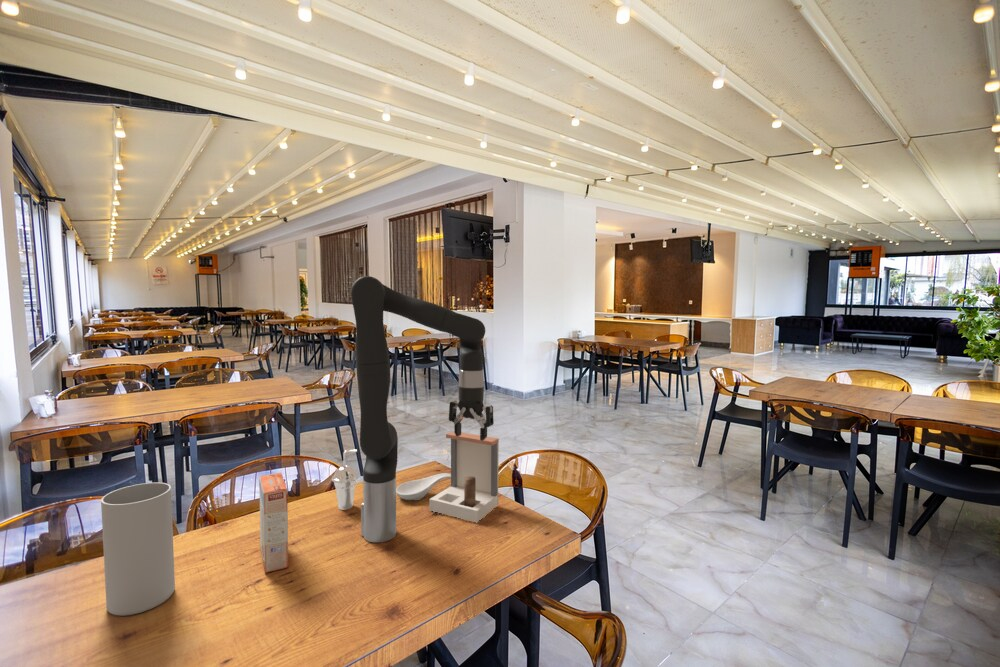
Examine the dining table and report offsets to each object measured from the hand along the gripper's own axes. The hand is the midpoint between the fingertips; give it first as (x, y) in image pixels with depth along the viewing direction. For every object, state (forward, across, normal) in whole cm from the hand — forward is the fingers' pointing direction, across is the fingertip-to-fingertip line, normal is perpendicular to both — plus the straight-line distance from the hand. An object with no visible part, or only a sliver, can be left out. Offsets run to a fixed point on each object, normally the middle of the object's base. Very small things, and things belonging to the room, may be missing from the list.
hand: (470, 437), depth 144 cm
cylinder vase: (+28, -48, -66) cm, 86 cm away
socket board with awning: (+28, -8, +10) cm, 30 cm away
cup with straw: (+28, -43, -8) cm, 52 cm away
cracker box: (+28, -37, -40) cm, 61 cm away
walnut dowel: (+28, -4, +6) cm, 28 cm away
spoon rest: (+28, -24, +14) cm, 40 cm away
